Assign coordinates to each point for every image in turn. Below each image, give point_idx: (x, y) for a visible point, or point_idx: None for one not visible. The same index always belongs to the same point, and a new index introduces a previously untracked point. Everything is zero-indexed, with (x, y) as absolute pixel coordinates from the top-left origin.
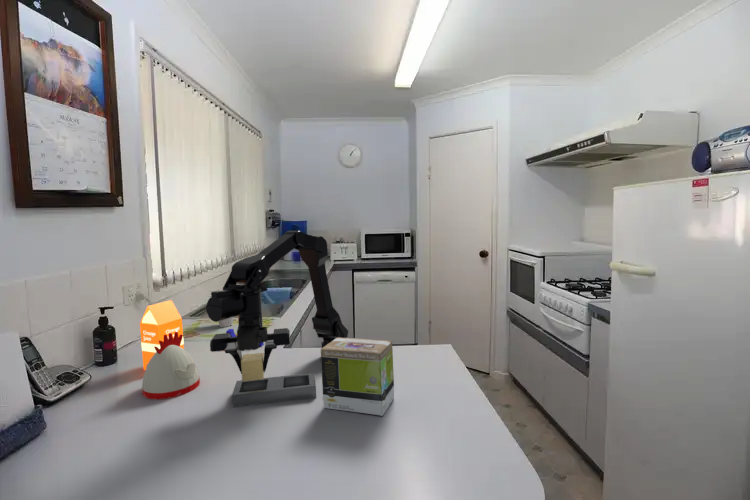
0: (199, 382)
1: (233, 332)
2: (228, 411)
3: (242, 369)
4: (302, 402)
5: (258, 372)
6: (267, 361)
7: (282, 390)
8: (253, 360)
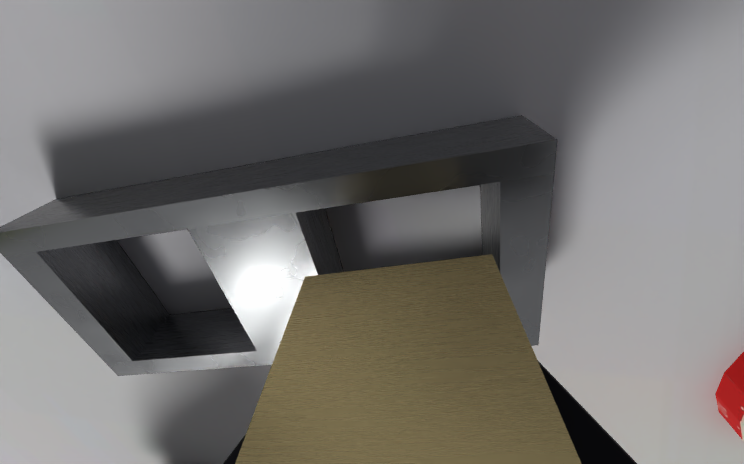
0: (722, 391)
1: None
2: (545, 48)
3: (520, 354)
4: (96, 147)
5: (329, 322)
6: (230, 458)
7: (180, 199)
8: None
